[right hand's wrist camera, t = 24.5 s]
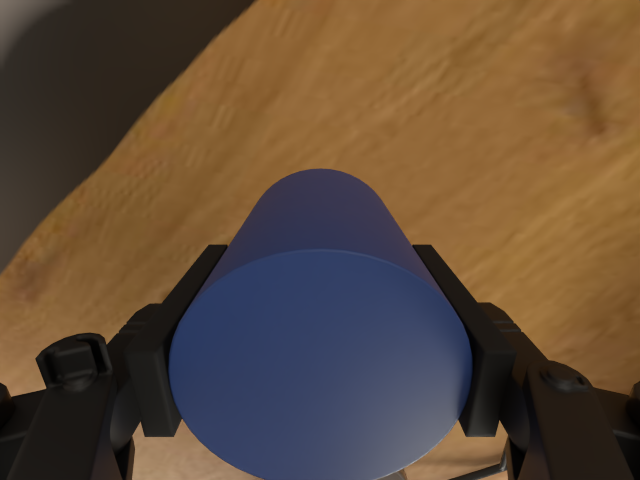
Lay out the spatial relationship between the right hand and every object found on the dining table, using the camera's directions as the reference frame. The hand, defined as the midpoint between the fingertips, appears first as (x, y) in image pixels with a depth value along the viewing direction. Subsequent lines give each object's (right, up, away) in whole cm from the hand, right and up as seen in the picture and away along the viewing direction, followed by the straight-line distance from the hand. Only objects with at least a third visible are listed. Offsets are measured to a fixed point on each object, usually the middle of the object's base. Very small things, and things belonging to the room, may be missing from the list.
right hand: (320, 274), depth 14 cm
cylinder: (0, +1, +3) cm, 4 cm away
